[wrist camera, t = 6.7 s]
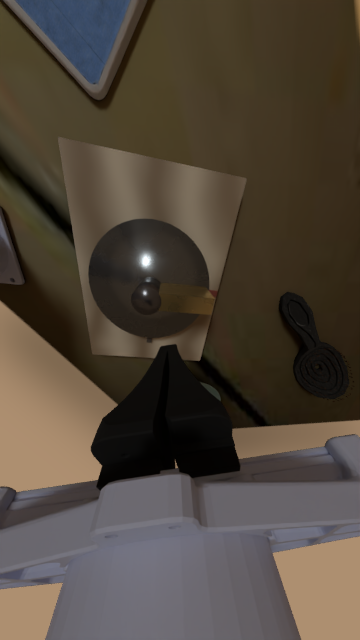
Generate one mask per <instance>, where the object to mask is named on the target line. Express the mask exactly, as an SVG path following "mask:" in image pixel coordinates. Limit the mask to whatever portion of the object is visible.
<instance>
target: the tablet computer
mask: <svg viewBox="0 0 360 640" xmlns="http://www.w3.org/2000/svg"><path fill="white" fill-rule="evenodd" d="M3 1H4V2H5V3H6V4H7V5H8V6H9V8H10V9H11V10H12V11H13V12H14V13H15V14H16V15H17V16H18V17H19V18H20V20H21V21H22V22H23V23H24V24H25V25H26V26H27V27H28V28H29V29H30V30H31V31H32V33H33V34H34V35H35V36H36V37H37V38H38V39H39V40H40V41H41V42H42V44H43V45H44V46H45V47H46V48H47V49H48V50H49V51H50V52H51V53H52V54H53V55H54V57H55V58H56V59H57V60H58V61H59V62H60V63H61V64H62V65H63V67H64V68H65V69H66V70H67V71H68V72H69V73H70V74H71V75H72V76H73V77H74V79H75V80H76V81H77V82H78V83H79V84H80V85H81V86H82V87H83V89H84V90H85V91H86V92H87V93H88V94H89V95H90V96H91V97H93V98H94V99H96V100H101V99H103V98H105V96H106V95H107V93H108V90H109V88H110V86H111V84H112V81H113V79H114V77H115V75H116V73H117V70H118V68H119V66H120V63H121V61H122V59H123V56H124V54H125V51H126V49H127V47H128V44H129V42H130V40H131V37H132V35H133V33H134V30H135V28H136V26H137V23H138V21H139V19H140V17H141V14H142V12H143V9H144V7H145V5H146V2H147V0H3Z"/></svg>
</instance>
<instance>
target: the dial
mask: <svg viewBox="0 0 360 640" xmlns="http://www.w3.org/2000/svg"><path fill="white" fill-rule="evenodd" d="M88 277H89V285H90V289H91V293H92V295H93V298H94V300H95V302H96V304H97V306H98V307H99V309H100V310H101V312H102V313H103V314H104V315H105V316H106V318H107V319H109V320H110V321H111V322H112V323H113V324H114V325H116V326H117V327H119V328H120V329H122V330H124V331H126V332H128V333H130V334H133V335H136V336H140V337H147V338H160V337H166V336H170V335H173V334H176V333H178V332H180V331H182V330H184V329H185V328H187V327H188V326H189V325H190V324H192V323H193V322H194V321H195V320H196V318H197V317H198V316H199V314H207V315H211V314H212V310H213V305H214V301H215V298H214V297H213V296H212V294H211V293H210V292H209V273H208V268H207V264H206V262H205V259H204V257H203V255H202V253H201V251H200V249H199V248H198V247H197V245H196V244H195V243H194V241H193V240H192V239H191V238H190V237H189V236H188V235H187V234H185V233H184V232H183V231H181V230H180V229H178V228H177V227H175V226H173V225H171V224H169V223H166V222H163V221H160V220H155V219H144V218H143V219H133V220H130V221H126V222H123V223H121V224H119V225H116V226H115V227H113V228H112V229H110V230H109V231H108V232H107V233H106V234H105V235H104V236H102V238H101V239H100V240H99V242H98V243H97V245H96V246H95V248H94V250H93V253H92V255H91V258H90V263H89V272H88Z"/></svg>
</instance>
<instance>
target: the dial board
mask: <svg viewBox="0 0 360 640" xmlns="http://www.w3.org/2000/svg"><path fill="white" fill-rule="evenodd" d="M58 141H59V148H60V154H61V160H62V166H63V173H64V179H65V185H66V192H67V198H68V204H69V210H70V217H71V223H72V229H73V236H74V242H75V248H76V254H77V261H78V267H79V273H80V279H81V286H82V292H83V298H84V305H85V311H86V317H87V323H88V330H89V336H90V342H91V349H92V354H96V355H113V356H129V357H145V358H155V357H156V355H157V353H158V351H159V348H160V347H161V346H165V345H172V344H176V345H177V348H178V351H179V354H180V356H181V358H182V359H183V360H194V361H200V359H201V355H202V351H203V347H204V343H205V339H206V335H207V331H208V327H209V323H210V320H211V316H212V314H211V315H207V314H199V316H198V317H197V318H196V320H195V321H194V322H193V323H192V324H190V325H189V326H188V327H187V328H185V329H184V330H182V331H180V332H178V333H176V334H173V335H170V336H166V337H160V338H147V337H140V336H136V335H133V334H130V333H128V332H126V331H124V330H122V329H120V328H119V327H117V326H116V325H114V324H113V323H112V322H111V321H110V320H109V319H107V318H106V316H105V315H104V314H103V313H102V312H101V310H100V309H99V307H98V306H97V304H96V302H95V300H94V298H93V295H92V293H91V289H90V285H89V277H88V272H89V263H90V258H91V255H92V253H93V250H94V248H95V246H96V245H97V243H98V242H99V240H100V239H101V238H102V236H104V235H105V234H106V233H107V232H108V231H109V230H110V229H112V228H113V227H115V226H116V225H119V224H121V223H123V222H126V221H130V220H133V219H143V218H144V219H155V220H160V221H163V222H166V223H169V224H171V225H173V226H175V227H177V228H178V229H180V230H181V231H183V232H184V233H185V234H187V235H188V236H189V237H190V238H191V239H192V240H193V241H194V243H195V244H196V245H197V247H198V248H199V249H200V251H201V253H202V255H203V257H204V259H205V262H206V264H207V268H208V273H209V292H210V293H211V294H212V296H213V297H214V298H215V300H216V297H217V293H218V288H219V285H220V281H221V277H222V273H223V269H224V265H225V261H226V257H227V253H228V249H229V246H230V242H231V238H232V234H233V230H234V226H235V222H236V218H237V214H238V210H239V207H240V203H241V199H242V195H243V191H244V187H245V183H246V179H247V178H243V177H238V176H234V175H229V174H225V173H220V172H215V171H211V170H206V169H202V168H197V167H193V166H188V165H184V164H179V163H174V162H170V161H165V160H161V159H156V158H152V157H147V156H143V155H138V154H133V153H129V152H124V151H120V150H115V149H111V148H106V147H102V146H97V145H92V144H88V143H83V142H79V141H74V140H70V139H65V138H61V137H58ZM214 304H215V301H214ZM213 308H214V305H213ZM212 312H213V310H212Z"/></svg>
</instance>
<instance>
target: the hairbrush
mask: <svg viewBox="0 0 360 640" xmlns="http://www.w3.org/2000/svg"><path fill="white" fill-rule="evenodd" d="M291 299H292V300H294V301H296V302H297V303H296V302H294V301H292V300H291ZM280 301H281V307H280V304H279V309H280V311H281V313H282V315H283V317H284V318H285V320H286V322H287V323H288V324H289V325H290V326H291V327H292V328H293V329H294V330H295V331H296V332H297V333H298V335H299V336H300V338H301V340H302V342H303V343H304V345H305V346H304V348H303V349H302V350H301V351H300V352H299V354H298V355H297V356H296V358H297V359H296V358H295V360H296V361H295V360H294V362H295V363H294V365H293V367H294V375H295V377H296V379H297V381H298V382H299V383H300V384H301V385H302V386H303V387H304V388H305V389H306V390H308V391H309V392H311V393H312V394H314V395H315V396H317V397H321V398H328V399H330V400H331V399H335V398H337V397H339V396H341V395H343V394H344V393H345V391H346V389H347V388H348V387H349V386H348V385H349V379H348V373H347V367H346V365H345V363H344V361H343V359H342V357H341V356H342V355H340V354H342V353H340V352H338V351H337V350H336V349H335V348H333V347H332V346H331V345H329V344H325V343H323V342H320V340H319V337H318V334H317V330H316V326H315V322H314V317H313V312H312V310H311V309H310V307H309V306H308V304H307V303H306V302H305V300H304V299H303V297H301V296H299V295H297V294H294V293H290V292H287V293H285V294H284V295H283V296H281V298H280ZM280 301H279V302H280ZM294 322H295V323H296V324H297V325H299V326H300V327H301V328H302V329H303V330H305V331H306V332H307V333H305V332H304V331H303V330H302V329H300V328H299V327H298V326H297V325H296V324H295V323H294ZM325 348H327V349H328V350H330V351H331V352H332V353H333V355H332V354H331V353H330V352H329V351H328V350H326V349H325ZM320 353H322V354H320ZM323 354H324V355H325V356H327V358H328V359H327V358H326V357H325V356H324V355H323ZM334 356H335V357H334ZM343 357H344V359H346V358H345V356H343ZM320 360H322V361H323V362H324V363H322V362H321V361H320ZM330 362H331V363H330ZM345 362H348V361H345ZM317 364H320V368H319V369H318V370H317V369H316V368H315V366H317ZM348 365H349V364H348ZM349 368H351V367H349ZM312 370H313V371H314V372H313V371H312ZM350 371H351V370H350ZM307 373H309V374H310V376H309V375H308V374H307ZM301 374H302V375H301ZM351 374H352V373H351ZM311 376H312V377H311ZM303 377H304V378H305V379H306V380H307V381H308V382H307V381H306V380H305V379H304V378H303ZM352 378H353V377H352ZM353 382H354V381H353ZM352 386H353V385H352ZM352 389H353V388H352ZM352 389H351V390H352ZM348 396H349V395H348ZM346 397H347V396H346ZM347 398H348V397H347ZM328 399H327V400H328ZM336 400H337V399H336ZM341 400H342V399H341ZM343 400H344V399H343ZM338 401H339V400H338ZM333 402H334V401H333Z"/></svg>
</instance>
